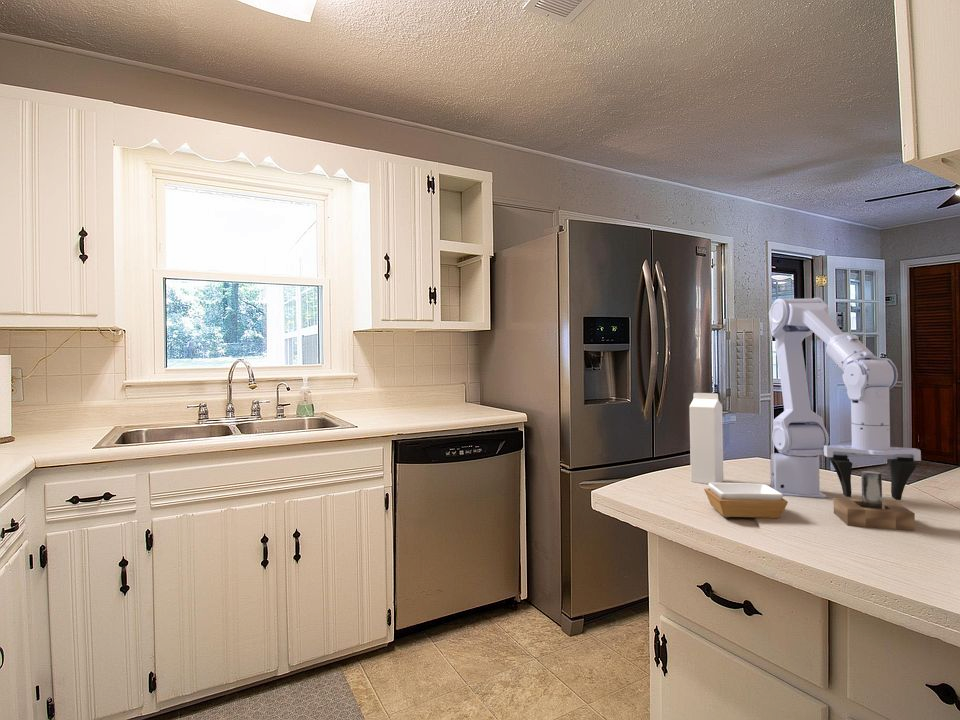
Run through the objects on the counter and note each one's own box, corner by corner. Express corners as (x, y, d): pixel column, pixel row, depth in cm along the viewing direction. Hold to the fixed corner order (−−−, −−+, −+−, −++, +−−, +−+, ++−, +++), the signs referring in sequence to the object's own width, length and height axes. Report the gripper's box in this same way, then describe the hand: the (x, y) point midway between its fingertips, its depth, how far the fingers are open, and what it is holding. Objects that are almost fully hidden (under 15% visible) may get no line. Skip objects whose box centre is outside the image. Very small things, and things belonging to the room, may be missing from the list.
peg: (865, 523, 95) (864, 474, 95) (859, 518, 98) (858, 470, 98) (885, 524, 94) (884, 475, 94) (878, 519, 97) (877, 471, 97)
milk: (715, 485, 125) (714, 394, 125) (690, 481, 129) (688, 393, 129) (723, 480, 130) (722, 392, 129) (699, 477, 134) (697, 391, 133)
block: (847, 525, 94) (847, 508, 94) (833, 512, 102) (833, 497, 102) (914, 530, 91) (914, 513, 91) (895, 517, 98) (894, 501, 98)
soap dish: (719, 519, 99) (719, 493, 99) (703, 505, 109) (703, 481, 109) (789, 521, 98) (788, 494, 98) (766, 506, 108) (766, 482, 108)
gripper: (831, 425, 95) (832, 500, 95) (928, 427, 90) (930, 506, 90) (820, 421, 101) (821, 490, 101) (910, 422, 97) (911, 495, 97)
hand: (871, 497), depth 96 cm, fingers open, 7 cm apart
